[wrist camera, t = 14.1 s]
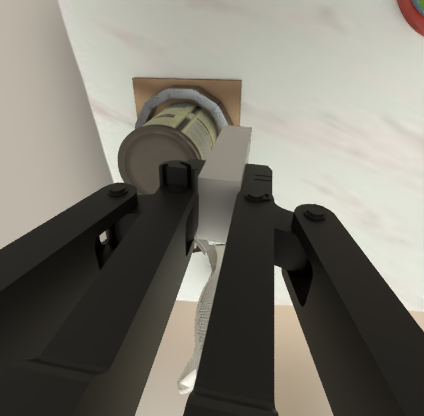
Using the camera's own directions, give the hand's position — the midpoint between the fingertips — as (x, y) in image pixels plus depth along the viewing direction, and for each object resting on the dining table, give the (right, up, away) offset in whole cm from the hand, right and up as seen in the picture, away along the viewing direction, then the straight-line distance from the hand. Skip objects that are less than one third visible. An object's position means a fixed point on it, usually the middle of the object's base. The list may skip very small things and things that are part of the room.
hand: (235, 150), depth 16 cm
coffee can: (-5, +8, +30) cm, 32 cm away
